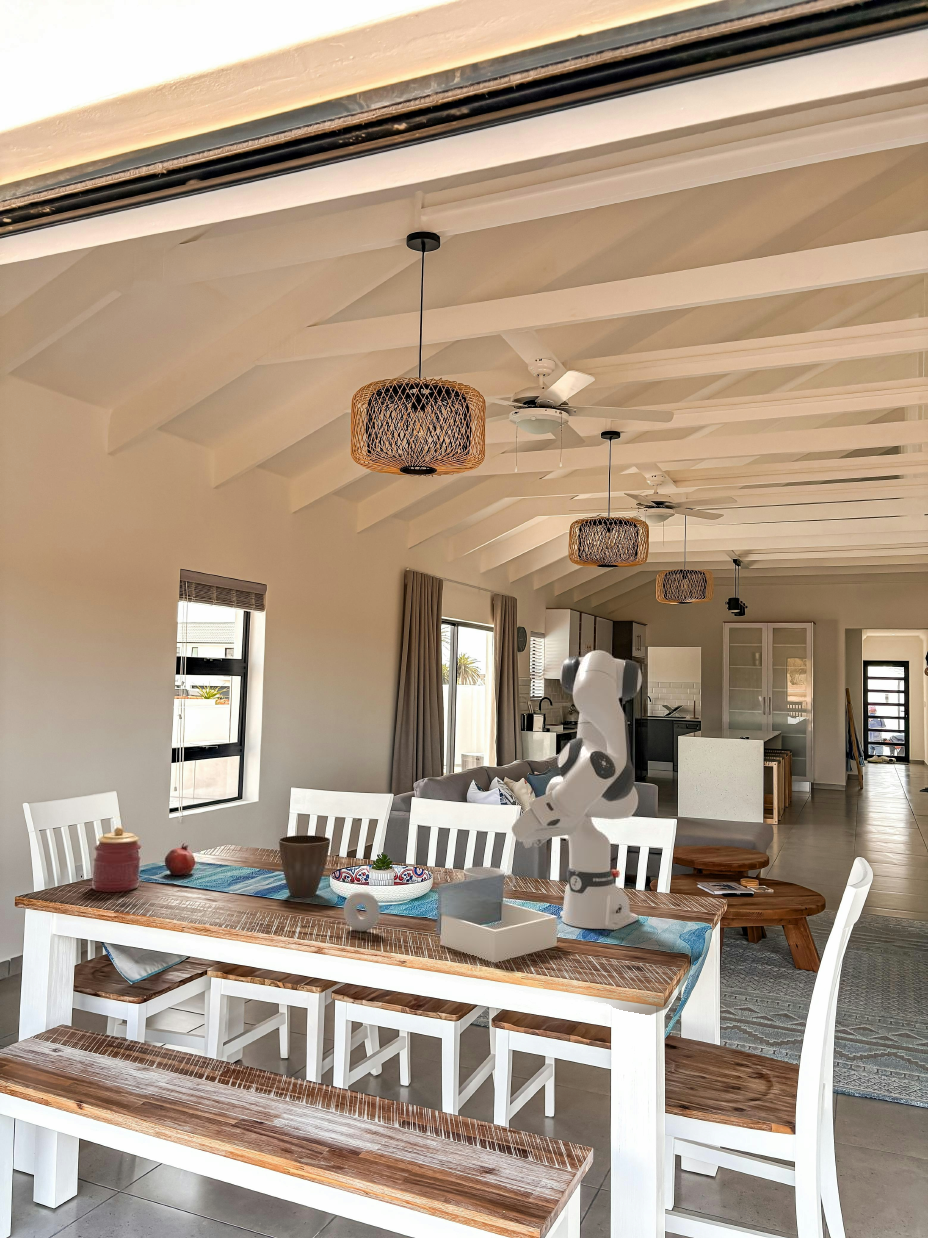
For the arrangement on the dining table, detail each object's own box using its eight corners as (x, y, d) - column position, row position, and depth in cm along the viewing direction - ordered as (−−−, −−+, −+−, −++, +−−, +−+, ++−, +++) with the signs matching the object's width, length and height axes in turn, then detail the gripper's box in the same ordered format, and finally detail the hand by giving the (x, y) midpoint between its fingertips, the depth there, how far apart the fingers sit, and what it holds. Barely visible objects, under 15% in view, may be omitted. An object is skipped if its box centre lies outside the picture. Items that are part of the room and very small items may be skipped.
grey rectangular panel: (502, 920, 230) (503, 874, 231) (439, 934, 215) (441, 885, 216) (496, 918, 232) (497, 873, 232) (433, 932, 216) (435, 884, 217)
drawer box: (556, 946, 217) (557, 916, 217) (494, 963, 201) (495, 931, 202) (503, 929, 230) (503, 902, 230) (440, 944, 214) (441, 915, 215)
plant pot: (300, 903, 250) (303, 845, 251) (265, 894, 259) (268, 839, 260) (338, 895, 262) (341, 839, 263) (303, 886, 271) (306, 833, 272)
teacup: (511, 914, 245) (512, 877, 246) (458, 910, 248) (459, 873, 249) (517, 904, 257) (518, 869, 258) (466, 900, 260) (467, 865, 261)
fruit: (157, 876, 278) (159, 844, 279) (176, 870, 287) (177, 839, 288) (183, 879, 276) (184, 846, 276) (200, 873, 285) (202, 841, 285)
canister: (128, 893, 255) (132, 831, 256) (83, 892, 255) (87, 829, 256) (145, 884, 267) (149, 824, 269) (103, 882, 268) (106, 822, 269)
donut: (381, 932, 223) (383, 891, 224) (374, 935, 220) (376, 894, 221) (347, 927, 227) (348, 887, 228) (340, 930, 224) (341, 889, 225)
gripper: (584, 794, 213) (552, 830, 220) (527, 799, 199) (494, 837, 206) (599, 815, 210) (565, 851, 216) (542, 822, 196) (508, 860, 202)
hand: (530, 844), depth 211 cm, fingers closed
